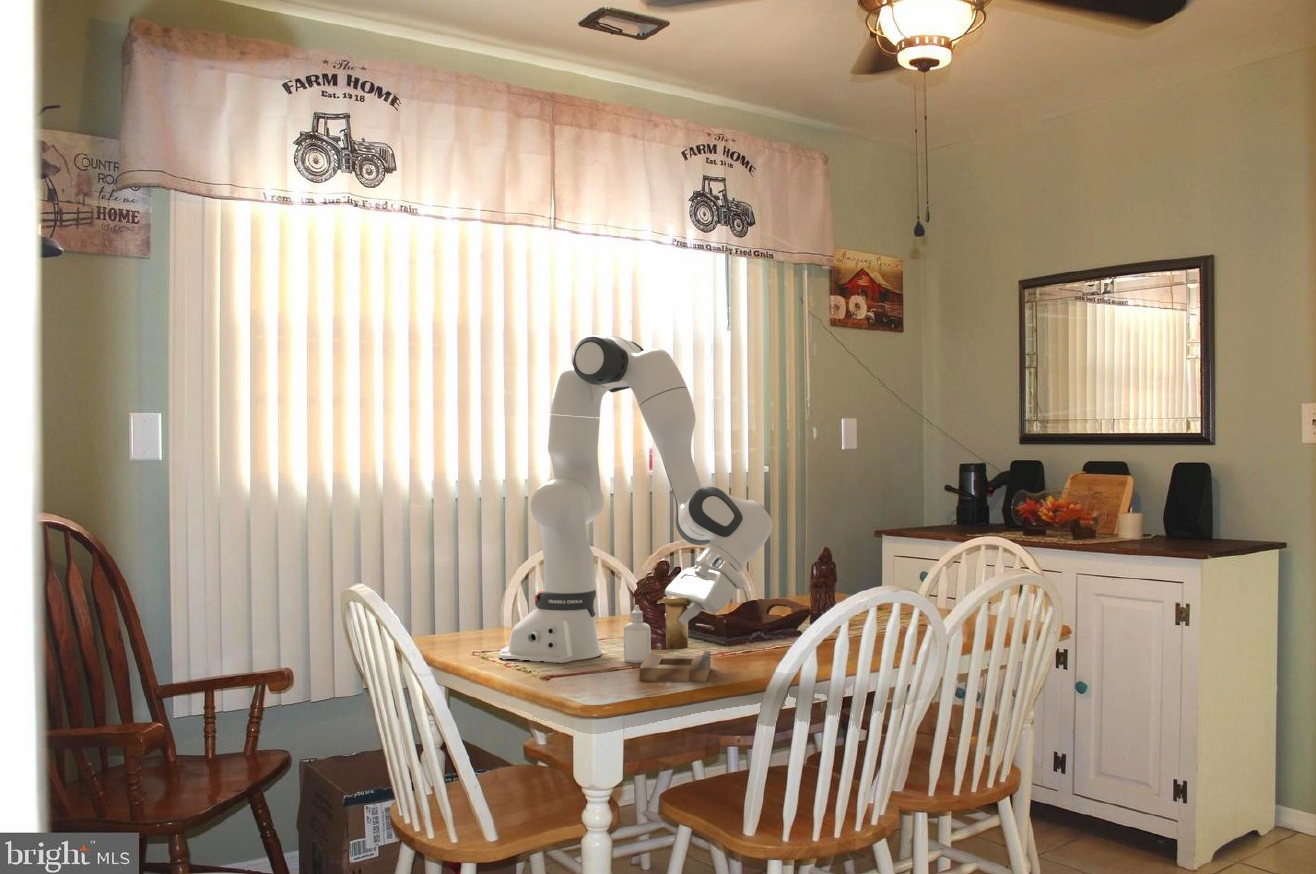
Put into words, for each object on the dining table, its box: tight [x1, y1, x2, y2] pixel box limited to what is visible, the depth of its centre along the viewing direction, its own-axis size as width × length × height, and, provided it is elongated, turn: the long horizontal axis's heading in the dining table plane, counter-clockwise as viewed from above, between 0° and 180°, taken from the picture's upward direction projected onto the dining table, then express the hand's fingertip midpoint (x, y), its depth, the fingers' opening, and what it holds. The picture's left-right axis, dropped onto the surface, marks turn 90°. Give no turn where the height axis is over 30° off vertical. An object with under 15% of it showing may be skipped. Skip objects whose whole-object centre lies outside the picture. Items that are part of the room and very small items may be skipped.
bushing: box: [662, 595, 690, 650], centre depth 208 cm, size 5×5×10 cm
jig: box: [638, 650, 711, 683], centre depth 207 cm, size 13×13×4 cm
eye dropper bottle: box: [623, 604, 652, 664], centre depth 221 cm, size 4×6×12 cm
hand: (673, 620), depth 207 cm, fingers closed on bushing, 4 cm apart
